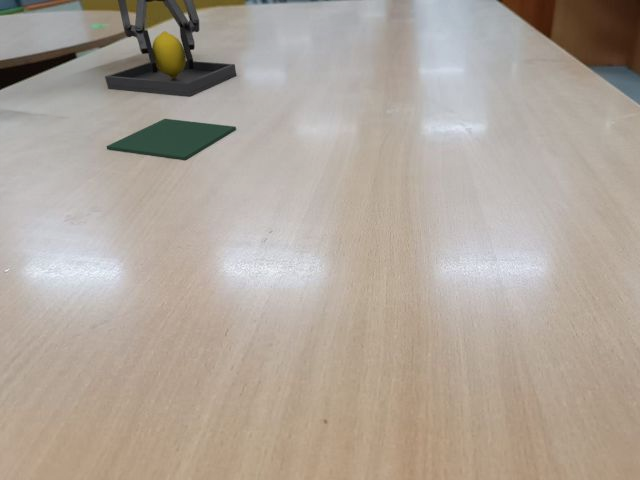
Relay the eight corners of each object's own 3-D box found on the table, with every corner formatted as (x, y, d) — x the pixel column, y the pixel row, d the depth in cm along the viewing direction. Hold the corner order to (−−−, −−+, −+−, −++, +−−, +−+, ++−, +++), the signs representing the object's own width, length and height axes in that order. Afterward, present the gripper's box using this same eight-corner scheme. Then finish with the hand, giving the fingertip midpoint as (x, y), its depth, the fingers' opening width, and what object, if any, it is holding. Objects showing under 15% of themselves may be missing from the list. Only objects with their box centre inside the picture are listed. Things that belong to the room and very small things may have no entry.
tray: (108, 88, 91) (104, 76, 90) (162, 69, 103) (159, 58, 102) (189, 96, 86) (187, 83, 85) (236, 75, 98) (234, 64, 97)
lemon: (166, 84, 91) (155, 35, 87) (153, 78, 95) (142, 31, 90) (194, 78, 94) (186, 31, 90) (181, 73, 98) (172, 27, 93)
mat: (106, 149, 66) (106, 146, 66) (165, 121, 75) (164, 118, 75) (185, 160, 63) (184, 156, 62) (236, 129, 72) (235, 126, 72)
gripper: (195, -33, 100) (225, 73, 96) (92, -29, 94) (120, 84, 90) (194, -65, 93) (226, 48, 89) (82, -63, 87) (112, 58, 83)
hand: (172, 65), depth 90 cm, fingers closed on lemon, 5 cm apart
